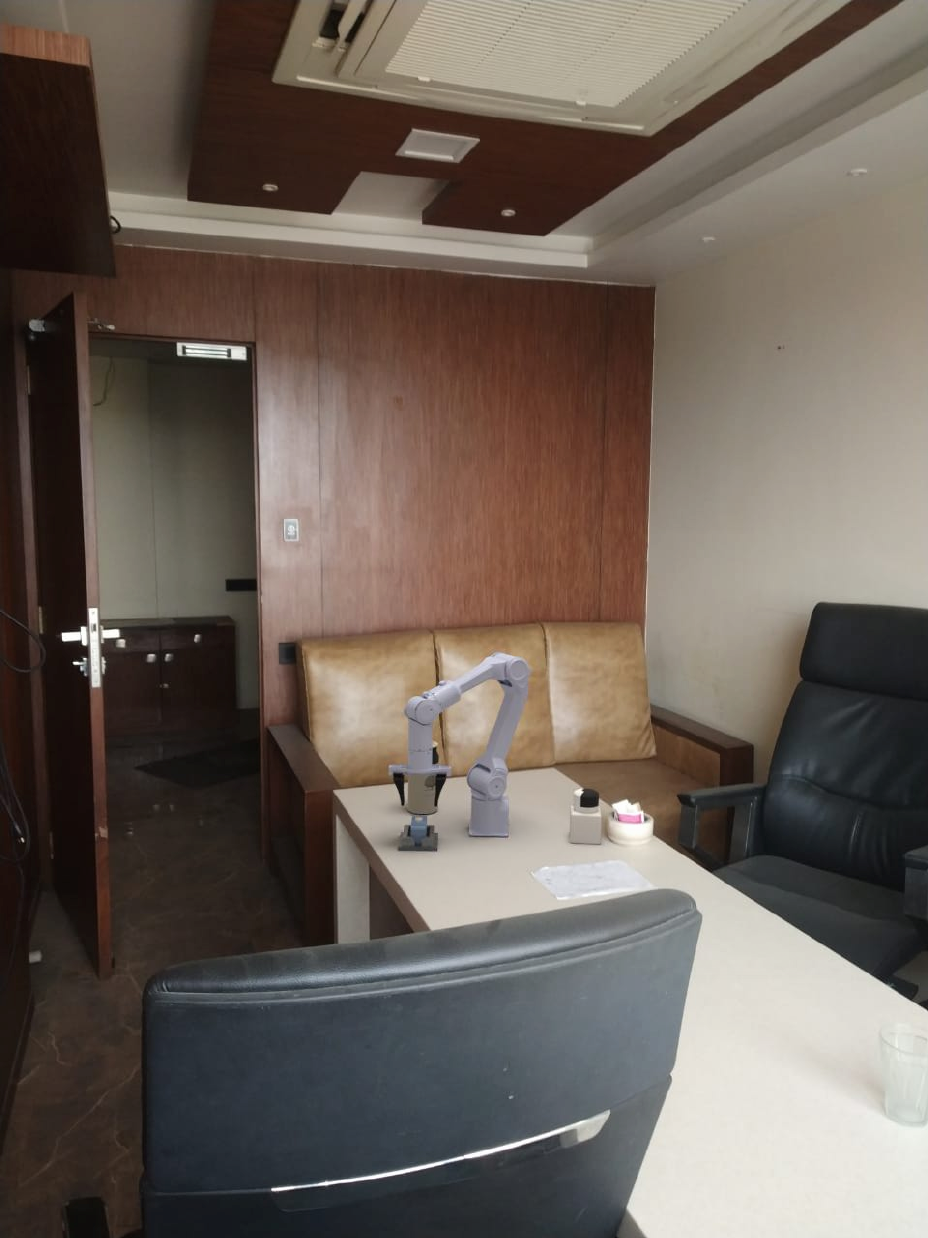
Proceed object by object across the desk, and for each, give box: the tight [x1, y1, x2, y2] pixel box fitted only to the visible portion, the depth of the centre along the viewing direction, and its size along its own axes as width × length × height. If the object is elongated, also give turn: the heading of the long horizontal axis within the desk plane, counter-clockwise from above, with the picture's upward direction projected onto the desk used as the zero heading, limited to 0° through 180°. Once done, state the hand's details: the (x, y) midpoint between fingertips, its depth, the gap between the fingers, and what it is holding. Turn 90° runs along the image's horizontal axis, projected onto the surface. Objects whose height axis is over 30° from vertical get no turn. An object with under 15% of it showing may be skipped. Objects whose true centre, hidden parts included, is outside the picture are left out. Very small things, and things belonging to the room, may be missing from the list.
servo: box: [410, 814, 428, 844], centre depth 206 cm, size 4×7×6 cm, turn 0°
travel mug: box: [407, 740, 440, 815], centre depth 229 cm, size 8×8×18 cm
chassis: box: [397, 824, 439, 852], centre depth 206 cm, size 9×10×3 cm
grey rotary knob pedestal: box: [569, 788, 603, 845], centre depth 211 cm, size 7×7×12 cm
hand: (419, 805), depth 206 cm, fingers open, 7 cm apart
